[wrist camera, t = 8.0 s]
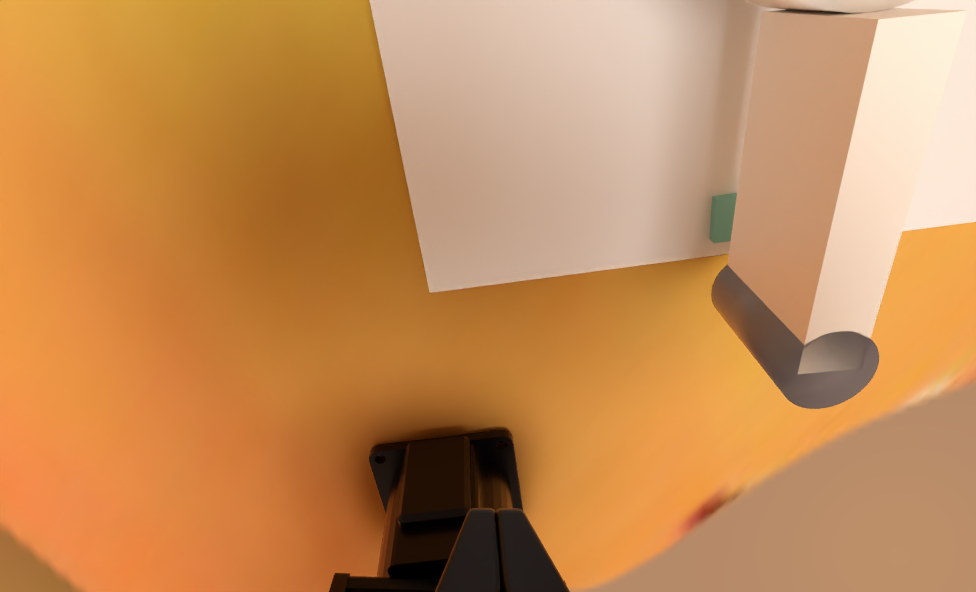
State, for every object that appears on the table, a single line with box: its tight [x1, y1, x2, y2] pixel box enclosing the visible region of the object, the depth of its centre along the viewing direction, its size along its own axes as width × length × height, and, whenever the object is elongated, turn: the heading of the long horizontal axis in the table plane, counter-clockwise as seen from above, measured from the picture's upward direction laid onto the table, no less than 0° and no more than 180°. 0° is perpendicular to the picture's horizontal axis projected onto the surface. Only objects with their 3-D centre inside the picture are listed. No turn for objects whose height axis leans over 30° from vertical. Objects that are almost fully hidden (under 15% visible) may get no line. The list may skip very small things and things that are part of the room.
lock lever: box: [711, 0, 967, 409], centre depth 13 cm, size 15×6×4 cm, turn 5°
